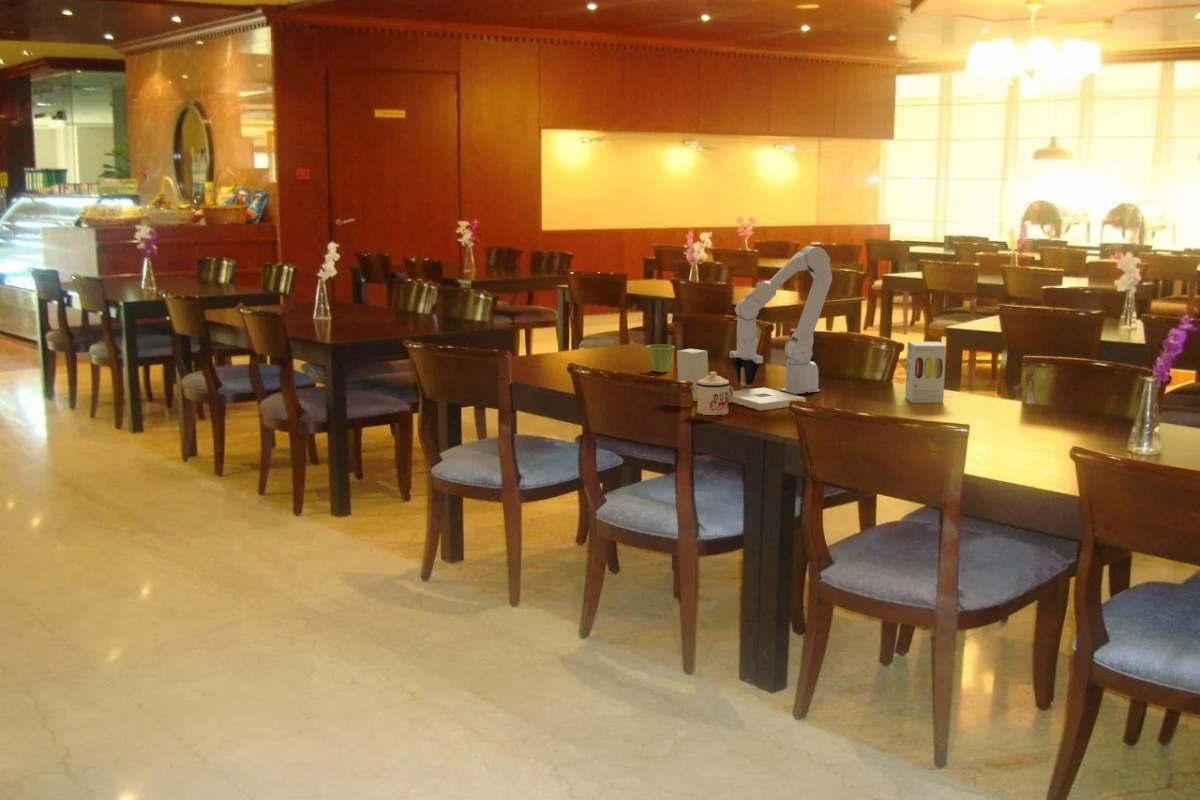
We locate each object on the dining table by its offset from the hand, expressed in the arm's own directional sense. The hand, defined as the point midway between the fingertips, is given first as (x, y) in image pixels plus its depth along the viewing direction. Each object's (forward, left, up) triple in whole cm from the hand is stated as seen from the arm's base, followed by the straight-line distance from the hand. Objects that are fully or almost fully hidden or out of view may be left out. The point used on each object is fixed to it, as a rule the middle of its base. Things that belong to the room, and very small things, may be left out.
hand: (745, 383), depth 366 cm
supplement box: (-37, +37, -3) cm, 52 cm away
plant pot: (+1, -48, -3) cm, 48 cm away
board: (+4, +14, -3) cm, 15 cm away
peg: (0, 0, -3) cm, 3 cm away
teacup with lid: (+24, +20, -3) cm, 31 cm away
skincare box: (+19, 0, -3) cm, 19 cm away
